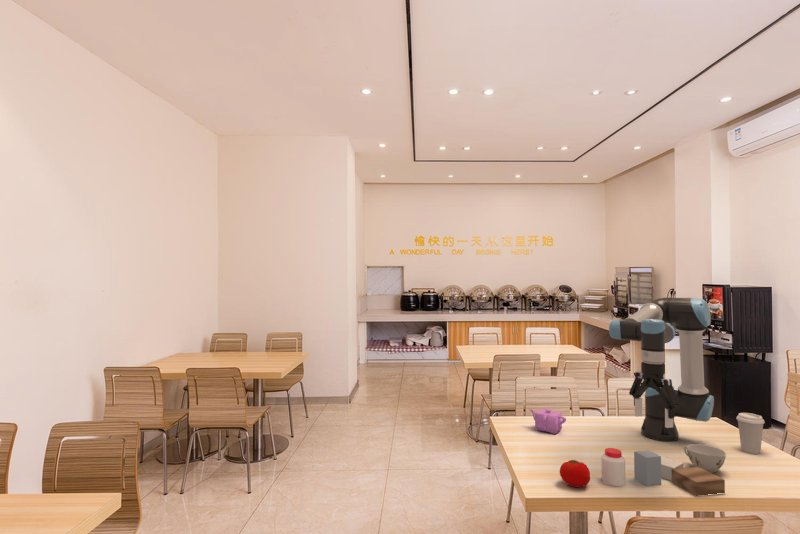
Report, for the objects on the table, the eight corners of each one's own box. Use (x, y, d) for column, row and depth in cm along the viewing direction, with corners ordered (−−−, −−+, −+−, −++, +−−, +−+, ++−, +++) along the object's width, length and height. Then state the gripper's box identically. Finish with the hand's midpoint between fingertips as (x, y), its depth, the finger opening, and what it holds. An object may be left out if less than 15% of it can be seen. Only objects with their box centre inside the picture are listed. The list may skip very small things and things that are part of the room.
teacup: (734, 474, 170) (734, 453, 170) (710, 479, 166) (710, 457, 166) (696, 459, 184) (695, 439, 184) (673, 463, 180) (673, 443, 180)
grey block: (651, 474, 170) (650, 460, 170) (660, 469, 175) (660, 456, 175) (674, 482, 164) (674, 468, 164) (683, 476, 169) (683, 462, 169)
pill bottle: (597, 477, 167) (597, 446, 168) (617, 476, 168) (617, 446, 168) (608, 486, 160) (608, 455, 160) (629, 486, 160) (629, 454, 161)
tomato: (595, 490, 157) (595, 466, 157) (566, 491, 156) (566, 466, 156) (582, 478, 166) (582, 455, 166) (555, 479, 165) (555, 456, 165)
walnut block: (671, 482, 164) (671, 468, 164) (698, 480, 166) (698, 466, 166) (696, 497, 153) (696, 482, 153) (724, 494, 155) (724, 479, 155)
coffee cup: (770, 456, 188) (769, 419, 188) (744, 454, 190) (743, 418, 190) (757, 447, 197) (756, 412, 197) (732, 446, 199) (731, 411, 199)
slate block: (634, 479, 166) (634, 451, 166) (648, 477, 167) (647, 450, 168) (647, 486, 160) (646, 457, 160) (661, 484, 162) (661, 456, 162)
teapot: (523, 430, 219) (523, 409, 219) (533, 422, 230) (533, 402, 230) (562, 438, 208) (562, 415, 208) (570, 430, 219) (570, 408, 220)
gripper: (618, 356, 176) (619, 412, 175) (674, 369, 152) (674, 433, 151) (634, 356, 178) (635, 411, 178) (691, 368, 154) (692, 431, 154)
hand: (653, 421), depth 164 cm, fingers open, 13 cm apart
